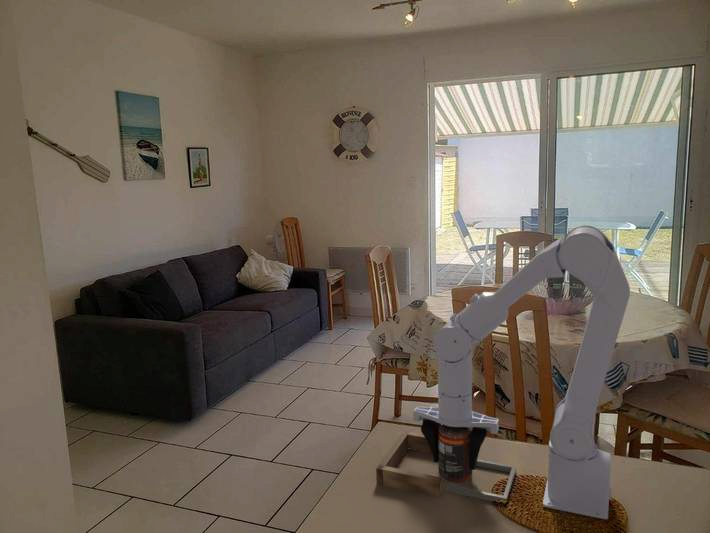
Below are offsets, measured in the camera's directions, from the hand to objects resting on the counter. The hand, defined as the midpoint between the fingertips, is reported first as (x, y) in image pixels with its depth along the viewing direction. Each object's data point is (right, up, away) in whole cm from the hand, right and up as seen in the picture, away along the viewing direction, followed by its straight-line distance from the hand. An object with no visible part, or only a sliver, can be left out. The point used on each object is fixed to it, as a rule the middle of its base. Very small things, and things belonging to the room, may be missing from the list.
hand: (455, 463), depth 97 cm
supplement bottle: (0, -3, +1) cm, 3 cm away
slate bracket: (+4, -3, -1) cm, 5 cm away
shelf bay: (-5, -2, +3) cm, 6 cm away
